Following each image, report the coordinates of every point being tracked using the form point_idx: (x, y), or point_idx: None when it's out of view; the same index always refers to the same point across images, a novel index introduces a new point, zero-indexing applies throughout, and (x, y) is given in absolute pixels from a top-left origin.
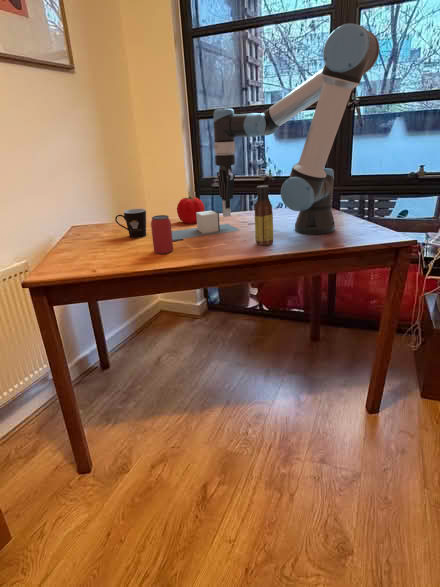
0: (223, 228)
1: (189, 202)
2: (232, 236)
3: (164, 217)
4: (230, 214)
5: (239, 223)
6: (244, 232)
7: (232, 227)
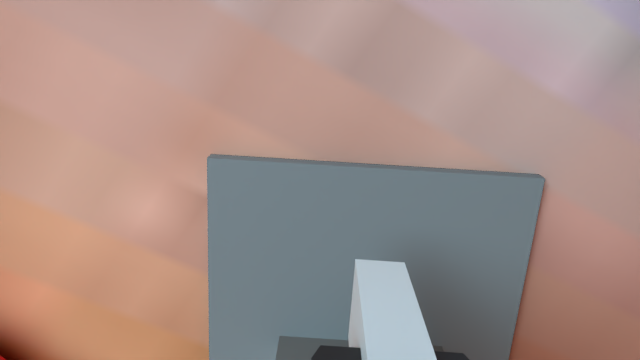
0: None
1: None
2: (624, 307)
3: None
4: (407, 274)
5: (209, 8)
6: (588, 157)
7: (392, 194)
